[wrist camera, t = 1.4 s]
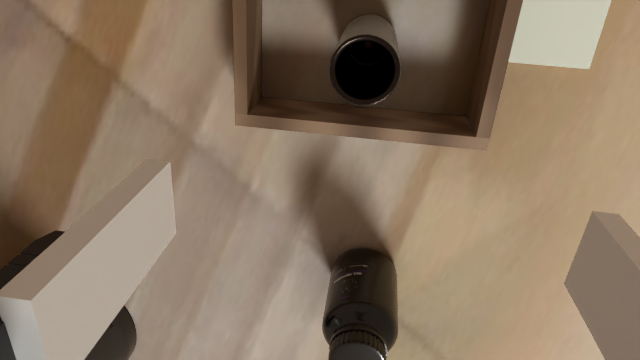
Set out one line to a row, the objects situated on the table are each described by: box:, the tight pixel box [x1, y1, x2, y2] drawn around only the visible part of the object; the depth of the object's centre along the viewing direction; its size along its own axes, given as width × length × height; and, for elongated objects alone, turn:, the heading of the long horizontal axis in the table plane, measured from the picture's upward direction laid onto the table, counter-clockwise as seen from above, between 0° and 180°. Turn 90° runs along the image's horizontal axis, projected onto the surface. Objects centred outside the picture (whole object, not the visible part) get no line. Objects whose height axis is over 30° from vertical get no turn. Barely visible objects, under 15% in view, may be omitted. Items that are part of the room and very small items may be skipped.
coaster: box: [508, 0, 611, 69], centre depth 35 cm, size 7×8×1 cm
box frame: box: [232, 0, 523, 151], centre depth 36 cm, size 20×13×5 cm, turn 87°
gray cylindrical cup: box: [329, 14, 401, 106], centre depth 34 cm, size 4×4×10 cm
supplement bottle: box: [322, 248, 398, 360], centre depth 43 cm, size 7×7×12 cm
